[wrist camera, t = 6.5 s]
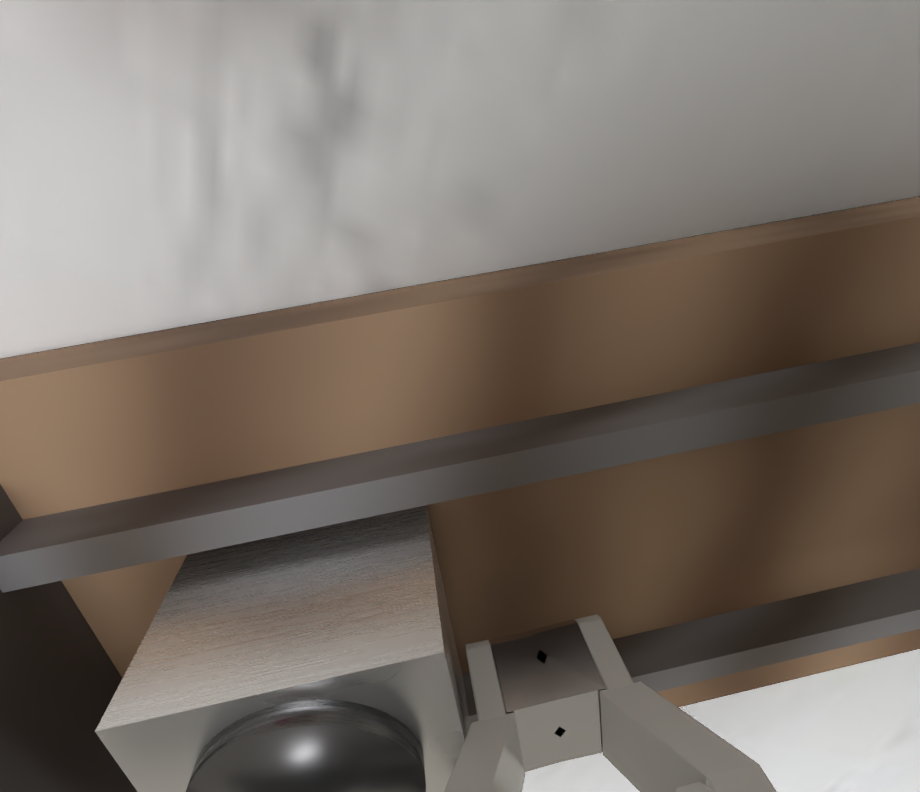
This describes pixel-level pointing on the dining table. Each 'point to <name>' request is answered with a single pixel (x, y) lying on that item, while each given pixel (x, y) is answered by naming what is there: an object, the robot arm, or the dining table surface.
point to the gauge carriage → (298, 668)
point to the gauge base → (495, 464)
